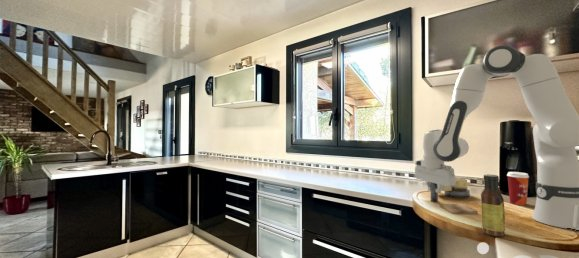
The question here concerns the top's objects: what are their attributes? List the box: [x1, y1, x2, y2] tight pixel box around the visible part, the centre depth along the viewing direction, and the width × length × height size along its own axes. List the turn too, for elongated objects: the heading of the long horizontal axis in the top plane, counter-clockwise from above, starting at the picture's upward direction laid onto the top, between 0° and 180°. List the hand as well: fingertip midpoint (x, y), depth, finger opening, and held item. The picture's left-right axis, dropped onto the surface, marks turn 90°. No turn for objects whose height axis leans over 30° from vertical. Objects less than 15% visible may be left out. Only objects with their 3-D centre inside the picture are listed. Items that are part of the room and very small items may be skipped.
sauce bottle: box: [480, 173, 506, 237], centre depth 86 cm, size 7×6×20 cm
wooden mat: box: [439, 203, 478, 215], centre depth 110 cm, size 10×10×1 cm
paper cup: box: [506, 171, 530, 206], centre depth 116 cm, size 8×8×14 cm
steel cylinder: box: [430, 182, 439, 203], centre depth 122 cm, size 3×3×10 cm
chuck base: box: [443, 188, 471, 199], centre depth 131 cm, size 11×11×3 cm
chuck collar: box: [430, 177, 468, 192], centre depth 131 cm, size 16×9×5 cm, turn 86°
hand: (434, 191), depth 122 cm, fingers closed on steel cylinder, 3 cm apart
